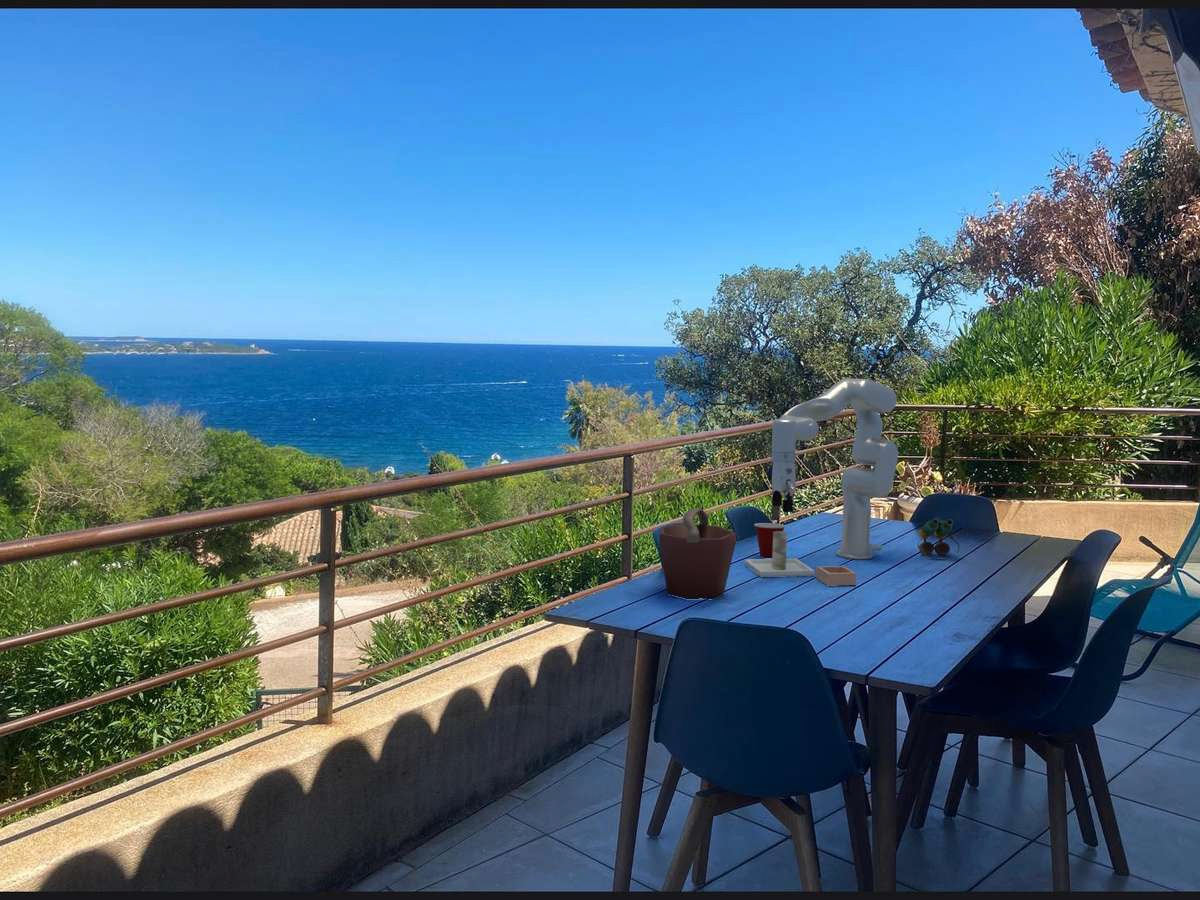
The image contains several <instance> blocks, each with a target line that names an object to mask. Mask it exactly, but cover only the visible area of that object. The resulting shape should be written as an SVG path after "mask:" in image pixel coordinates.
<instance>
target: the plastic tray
mask: <svg viewBox="0 0 1200 900" xmlns="http://www.w3.org/2000/svg"><path fill="white" fill-rule="evenodd" d="M745 565H746V566H748V567H749V568H751V569H752V570H753V571H754V572H755V573H757V574H758V575H759V576H760V577H777V576H779V577H780V576H791V577H790V578H802V577H801V576H815V575H816V574H815V573H816V570H814V569H813V567H812V568H811V567H810V566H809V565H807V564H805V563H804V562H802V561H801V560H799V559H798V558H795V557H794V558H786V569H785V570H775V569H772V559H763V558H749V559H744V566H745ZM746 566H745V567H746ZM749 568H748V569H749ZM754 572H753V573H754ZM755 573H754V574H755ZM759 576H758V577H759ZM793 576H794V577H793ZM797 576H799V577H797ZM760 577H759V578H760ZM780 578H781V577H780Z"/></svg>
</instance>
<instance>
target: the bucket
mask: <svg viewBox="0 0 1200 900" xmlns="http://www.w3.org/2000/svg"><path fill="white" fill-rule="evenodd" d="M696 516H697V517H698V521H699V524H697V523H695V518H696ZM682 521H683V523H680V524H673V525H672V524H671V525H663V526H660V530H659V548H660V549H659V550H660V556H661V562H662V568H663V574H664V580H665V587H666V594H667V595H668V594H670V595H674V596H678V597H682V598H685V599H699V598H703V599H705V598H706V599H714V598H716V597H718V596H720V595H722V594H723V593H724V594H725V590H726V586H727V581H728V577H729V574H730V573H729V572H730V568H731V565H732V561H733V557H734V552H735V548H736V544H737V543H736V542H737V541H736V540H737V532H735V531H732V530H730V529H727V528H725V527H723V526H721V525H713V524H712V525H710V524H709V522H710V521H709V517H708V514H707V513H706V512H705V510H704V509H702V508H689V509H688V510H686V512H685V514H684V515H683V517H682ZM724 594H723V595H724ZM723 595H722V596H723ZM720 597H721V596H720ZM718 598H719V597H718ZM716 599H717V598H716Z"/></svg>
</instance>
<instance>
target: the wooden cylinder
mask: <svg viewBox="0 0 1200 900" xmlns="http://www.w3.org/2000/svg"><path fill="white" fill-rule="evenodd" d="M787 544H788V532H787V531H784V530H783V531H775V532H773V555H772V569H775V570H785V569H786V559H787V548H788V547H787Z"/></svg>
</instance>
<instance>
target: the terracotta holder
mask: <svg viewBox="0 0 1200 900" xmlns="http://www.w3.org/2000/svg"><path fill="white" fill-rule="evenodd" d="M815 573H816V574H815V575H816V577H815V579H816V578H817V579H818V580H817V579H816V580H817V581H819V580H820V581H821V582H820V581H819V582H820V583H822V582H823V583H825V584H826V585H829V586H831V585H857V584H856V583H857V573H856V572H855V571H853V570H851V569H850V568H848V567H846V566H845V565H831V566H830V565H829V566H827V565H822V566H820V565H819V566H816V571H815ZM823 583H822V584H823ZM825 584H824V585H825ZM826 585H825V586H826Z"/></svg>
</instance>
